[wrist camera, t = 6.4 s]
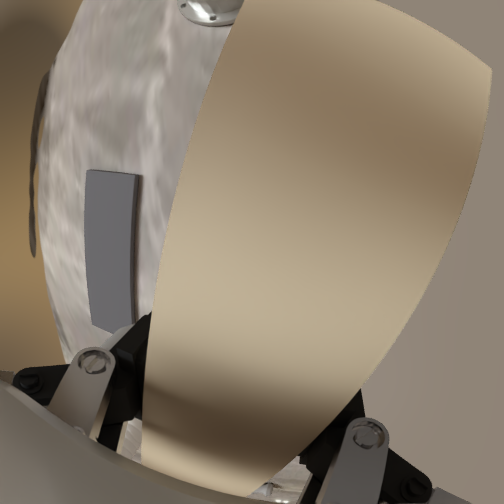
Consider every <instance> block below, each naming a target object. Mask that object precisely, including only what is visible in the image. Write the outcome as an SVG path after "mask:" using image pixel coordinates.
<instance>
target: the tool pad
mask: <svg viewBox="0 0 504 504" xmlns="http://www.w3.org/2000/svg"><path fill="white" fill-rule="evenodd" d="M138 181H139V175H136V174H128V173H119V172H110V171H100V170H87V172H86V186H85V211H84V237H85V262H86V276H87V288H88V297H89V305H90V313H91V320H92V325H95V326H97V327H99V328H101V329H103V330H105V331H108V332H110V333H112V334H114V333H115V332H116V331H117V330H118V329H120V328H123V327H126V326H128V325H131V324H135V309H134V236H135V217H136V203H137V191H138Z"/></svg>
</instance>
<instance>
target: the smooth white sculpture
mask: <svg viewBox="0 0 504 504" xmlns="http://www.w3.org/2000/svg"><path fill="white" fill-rule="evenodd" d="M272 491H273V485H272V484H271V483H268V484H265V485H262V486H260V487H259V488H258V489H256V490H255V491H254V492H252V493H251V494H254V493H262V494H264V495H265V496H266V497H267V496H270V495H271V494H272Z"/></svg>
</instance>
